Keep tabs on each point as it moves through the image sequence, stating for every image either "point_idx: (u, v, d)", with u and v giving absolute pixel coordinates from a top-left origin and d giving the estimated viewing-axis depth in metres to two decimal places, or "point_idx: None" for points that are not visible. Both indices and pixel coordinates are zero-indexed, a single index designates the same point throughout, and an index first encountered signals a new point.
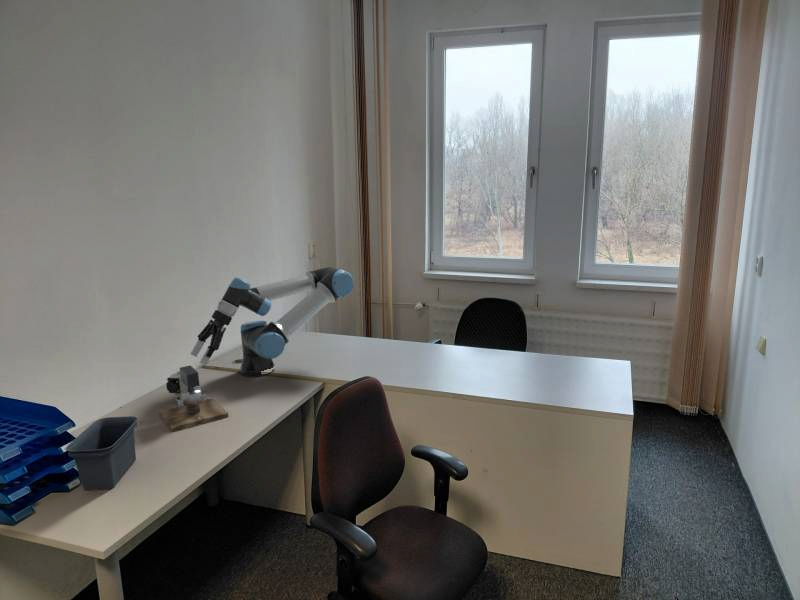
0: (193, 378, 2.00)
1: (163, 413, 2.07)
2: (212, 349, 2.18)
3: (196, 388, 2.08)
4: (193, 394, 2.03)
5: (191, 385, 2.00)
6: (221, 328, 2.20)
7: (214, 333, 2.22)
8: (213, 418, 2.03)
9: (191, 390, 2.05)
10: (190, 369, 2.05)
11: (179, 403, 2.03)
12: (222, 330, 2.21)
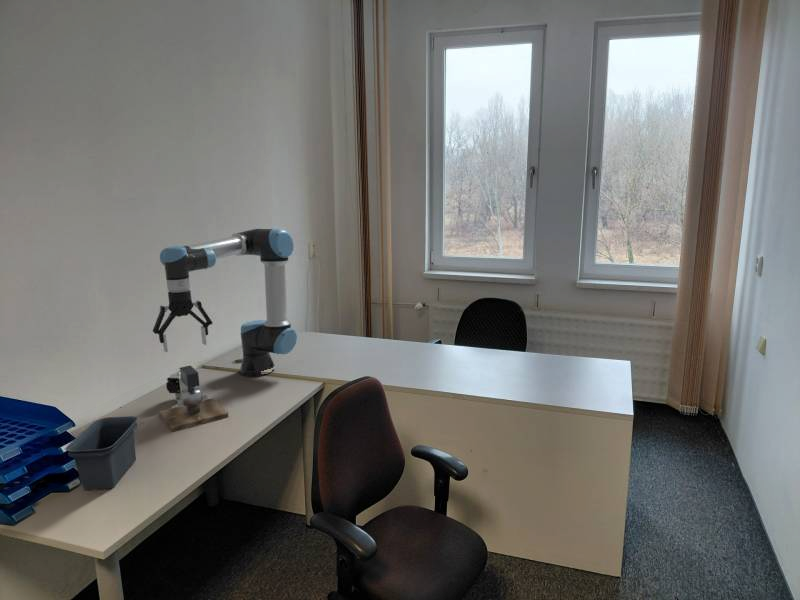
0: (193, 378, 2.00)
1: (163, 413, 2.07)
2: (207, 325, 2.05)
3: (196, 388, 2.08)
4: (193, 394, 2.03)
5: (191, 385, 2.00)
6: None
7: (194, 313, 2.01)
8: (213, 418, 2.03)
9: (191, 390, 2.05)
10: (190, 369, 2.05)
11: (179, 403, 2.03)
12: None
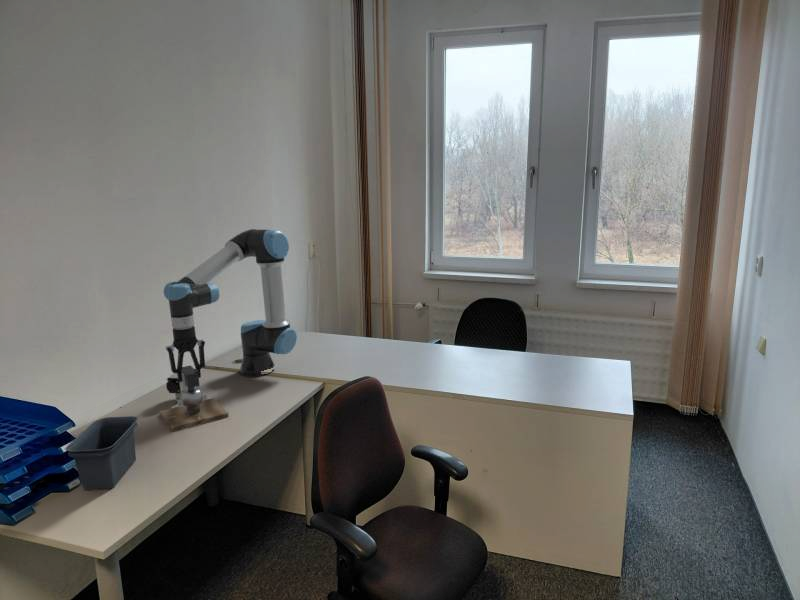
0: (193, 378, 2.00)
1: (163, 413, 2.07)
2: (200, 368, 2.06)
3: (196, 388, 2.08)
4: (193, 394, 2.03)
5: (191, 385, 2.00)
6: None
7: (194, 352, 2.03)
8: (213, 418, 2.03)
9: (191, 390, 2.05)
10: (190, 369, 2.05)
11: (179, 403, 2.03)
12: None
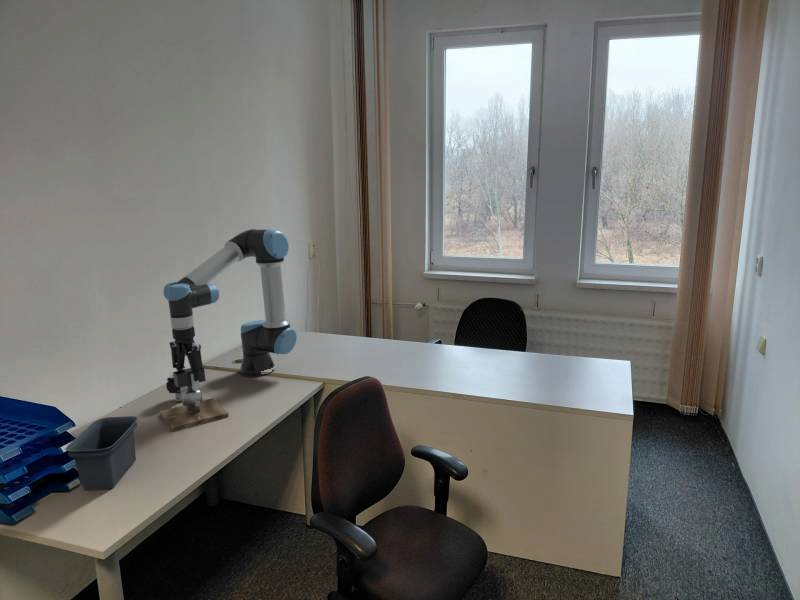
0: None
1: (163, 413, 2.07)
2: None
3: (186, 389, 2.07)
4: (200, 389, 2.08)
5: None
6: None
7: None
8: (213, 418, 2.03)
9: None
10: (185, 370, 2.04)
11: None
12: None
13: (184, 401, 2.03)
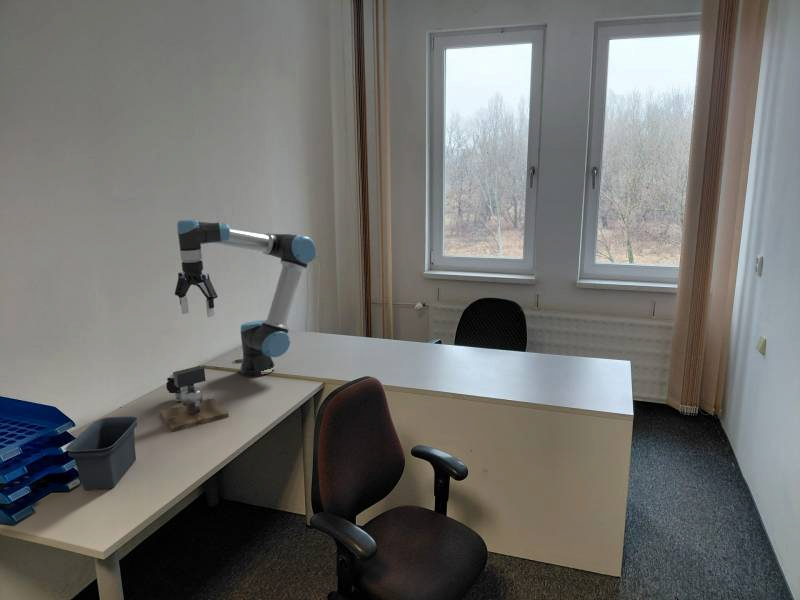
0: None
1: (163, 413, 2.07)
2: None
3: (186, 389, 2.07)
4: (200, 389, 2.08)
5: None
6: None
7: None
8: (213, 418, 2.03)
9: None
10: (185, 370, 2.04)
11: None
12: None
13: (184, 401, 2.03)
